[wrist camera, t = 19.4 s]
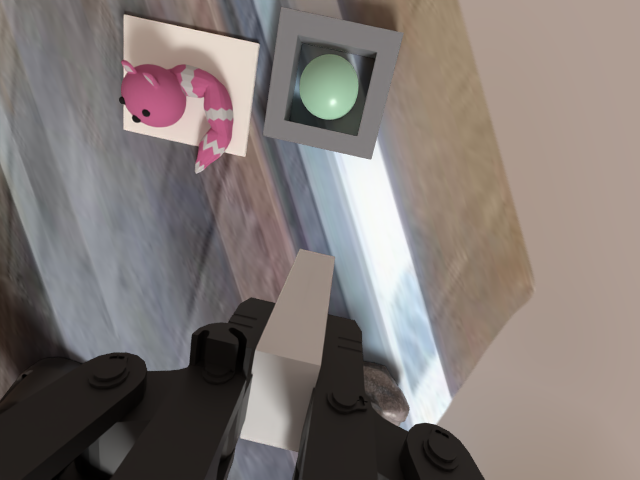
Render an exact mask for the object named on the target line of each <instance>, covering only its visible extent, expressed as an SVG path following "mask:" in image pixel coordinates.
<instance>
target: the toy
mask: <svg viewBox="0 0 640 480" xmlns="http://www.w3.org/2000/svg"><path fill="white" fill-rule="evenodd" d="M121 63H122V65H123V67H124V68H125V70H126V71H127V72H128V73H127V74H126V75H125V77H124V79H123V81H122V86H121V94H122V97H120V98H119V101H120V103H121V104H123V105H125V106H126V108H127V109H128V111H129V112H130V113H131V114H132V115H133V116H132V120H133V121H134V122H135V123H139V122H142V123H144V124H146V125H148V126H152V127H168V126H171V125H173V124H175V123H176V122H177V121H179V120H180V118H181V117H182V116H183V114H184V112H185V109H186V101H187V100H186V96H189V97H195V98H202V97H204V111H205V114H206V118H207V121H208V122H209V124H210V126H211V128H210V129H209V130H208V132H207V133H206V134H205V135H204V137H203V138H202V139H201V141H200V143H199V150H198V156H197V160H196V163H195V172H196V173H199V172H201V171H202V170H204V169H205V168H206V167H207V166H208V165H209V164H211V163H212V162H213V161H215V160H216V159H218V158H219V157H220V156H221V155H222V154H223V153H224V151H225V150H226V149H227V147H228V145H229V144H230V141H231V139H232V129H233V121H234V118H233V106H232V102H231V98H230V96H229V93H228V91H227V89H226V88H225V86H224V85H223V84H222V83H221V82H219V80H218V79H217V78H215V77H214V76H213V75H212V74H210V73H208V72H206V71H204V70H202V69H200V68H197V67H194V66H190V65H186V64H181V65H177V66H175V67H174V68H171V69H165V68H163V67H160V66H157V65H153V64H143V65H139V66H136V67H133V66H132V65H131V64H130V63H129V62H128V61H126V60H122V61H121Z"/></svg>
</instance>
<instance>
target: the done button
mask: <svg viewBox="0 0 640 480" xmlns="http://www.w3.org/2000/svg"><path fill="white" fill-rule="evenodd" d="M299 86H300V96H301V99H302V102H303V103H304V105H305V107H306V108H307V109H308V110H309V111H310V112H311V113H312V114H313V115H315V116H317V117H319V118H321V119H325V120H336V119H339V118H341V117H343V116H345V115H346V114H347V113H348V112H349V111H350V110H351V109H352V108H353V106H354V104H355V102H356V99H357V94H358V78H357V75H356V72H355V70H354V68H353V67H352V65H351V64H350V63H349V62H348V61H347V60H346V59H344V58H343V57H341V56H338V55H334V54H325V55H321V56H318V57H316V58H315V59H313V60H312V61H311V62H310V63H309V64H308V65H307V66H306V67H305V69H304V71H303V73H302V75H301V79H300V85H299Z"/></svg>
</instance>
